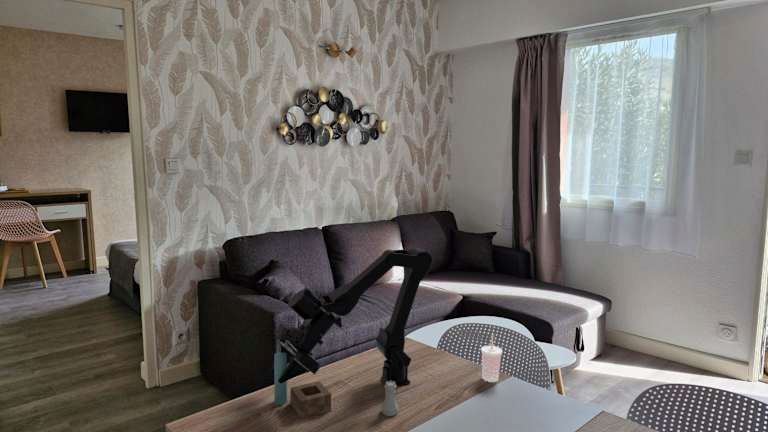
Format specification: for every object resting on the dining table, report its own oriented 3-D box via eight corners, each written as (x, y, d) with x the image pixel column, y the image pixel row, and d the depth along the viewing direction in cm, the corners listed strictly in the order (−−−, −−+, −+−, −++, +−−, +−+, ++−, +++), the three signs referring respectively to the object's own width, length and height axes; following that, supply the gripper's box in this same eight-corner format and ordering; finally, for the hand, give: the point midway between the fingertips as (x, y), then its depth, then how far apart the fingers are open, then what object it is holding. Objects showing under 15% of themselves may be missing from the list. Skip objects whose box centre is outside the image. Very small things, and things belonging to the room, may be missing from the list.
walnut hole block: (319, 396, 136) (319, 381, 136) (331, 410, 129) (331, 394, 129) (290, 403, 132) (290, 387, 132) (301, 418, 125) (301, 401, 125)
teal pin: (284, 397, 135) (284, 351, 133) (288, 403, 132) (288, 356, 131) (273, 400, 134) (272, 353, 132) (276, 406, 131) (276, 358, 129)
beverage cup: (504, 382, 147) (506, 336, 145) (483, 383, 146) (486, 337, 144) (496, 373, 153) (498, 329, 151) (476, 374, 152) (479, 329, 150)
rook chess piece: (396, 418, 127) (397, 387, 125) (379, 415, 127) (380, 385, 126) (399, 409, 131) (400, 379, 130) (382, 406, 132) (383, 377, 131)
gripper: (283, 302, 140) (243, 347, 136) (307, 323, 124) (263, 375, 120) (310, 325, 145) (272, 369, 141) (337, 348, 129) (295, 399, 125)
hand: (275, 377), depth 131 cm, fingers open, 6 cm apart
